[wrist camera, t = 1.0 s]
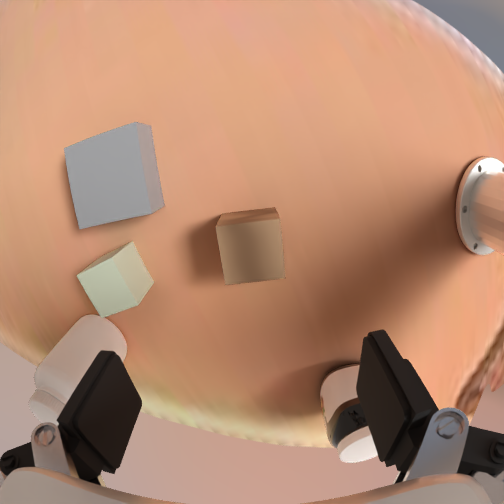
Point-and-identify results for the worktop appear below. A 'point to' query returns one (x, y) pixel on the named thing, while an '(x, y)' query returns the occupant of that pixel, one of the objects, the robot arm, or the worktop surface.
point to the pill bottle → (72, 364)
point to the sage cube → (116, 280)
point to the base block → (114, 175)
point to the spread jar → (346, 415)
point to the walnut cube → (251, 246)
